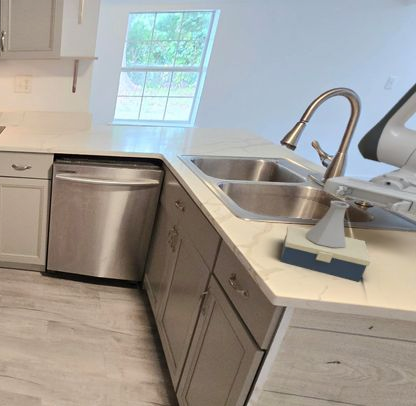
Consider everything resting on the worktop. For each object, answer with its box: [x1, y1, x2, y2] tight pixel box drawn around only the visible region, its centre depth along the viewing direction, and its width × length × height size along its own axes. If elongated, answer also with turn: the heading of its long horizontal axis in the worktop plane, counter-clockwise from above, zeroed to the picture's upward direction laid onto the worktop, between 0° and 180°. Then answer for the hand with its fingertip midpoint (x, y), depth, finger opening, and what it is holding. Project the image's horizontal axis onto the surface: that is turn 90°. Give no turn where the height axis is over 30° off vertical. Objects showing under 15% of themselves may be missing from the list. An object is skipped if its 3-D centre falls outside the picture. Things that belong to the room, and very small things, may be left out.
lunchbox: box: [280, 224, 371, 283], centre depth 89 cm, size 14×12×6 cm
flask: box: [306, 200, 350, 248], centre depth 86 cm, size 7×7×10 cm
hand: (363, 200), depth 89 cm, fingers open, 8 cm apart
